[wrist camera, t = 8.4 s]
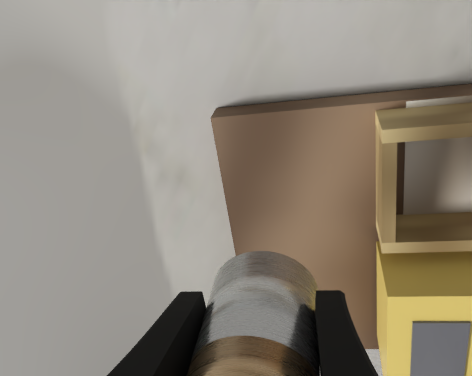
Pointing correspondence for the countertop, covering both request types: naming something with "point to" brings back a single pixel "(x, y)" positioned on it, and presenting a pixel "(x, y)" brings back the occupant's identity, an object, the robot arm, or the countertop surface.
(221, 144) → the board
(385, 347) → the block
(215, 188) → the countertop surface
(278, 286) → the silver and brown cylinder
